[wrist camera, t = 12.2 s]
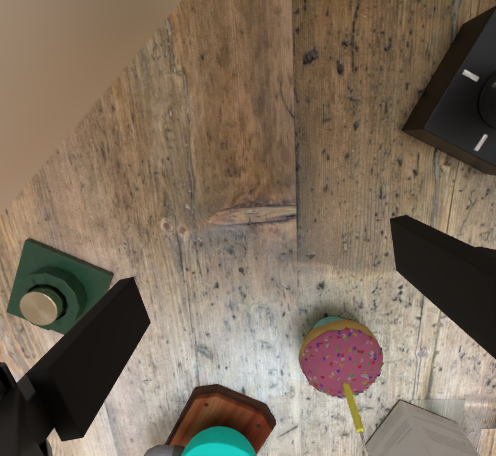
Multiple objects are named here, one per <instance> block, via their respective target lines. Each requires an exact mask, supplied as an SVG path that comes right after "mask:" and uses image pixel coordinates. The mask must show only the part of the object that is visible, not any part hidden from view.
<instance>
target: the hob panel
mask: <svg viewBox="0 0 496 456" xmlns="http://www.w3.org/2000/svg"><path fill="white" fill-rule="evenodd" d="M495 72H496V6H494V7H492V8H491V9H489V10H487V11H485V12H484V13H482V14H480V15H478V16H477V17H475V18H473V19H471V20H470V21H468V22H466V23H464V24H463V26H462V28H461V29H460V31H459V33H458V35H457V36H456V38H455V40H454V41H453V43H452V45H451V47H450V48H449V50H448V52H447V53H446V55H445V57H444V59H443V60H442V62H441V64H440V65H439V67H438V69H437V71H436V72H435V74H434V76H433V77H432V79H431V81H430V83H429V84H428V86H427V88H426V89H425V91H424V93H423V95H422V96H421V98H420V100H419V101H418V103H417V105H416V107H415V108H414V110H413V112H412V113H411V115H410V117H409V119H408V120H407V122H406V124H405V125H404V127H403V129H402V131H403V132H405V133H407V134H409V135H411V136H413V137H415V138H417V139H419V140H421V141H423V142H425V143H427V144H429V145H431V146H433V147H435V148H436V149H438V150H440V151H442V152H444V153H446V154H448V155H450V156H452V157H454V158H456V159H458V160H460V161H462V162H464V163H466V164H468V165H470V166H472V167H474V168H475V169H477V170H479V171H481V172H483V173H485V174H489V175H496V129H495V128H493V127H491V126H489V125H488V124H487V123H486V122H485V121H484V120H483V118H482V117H481V114H480V111H479V98H480V94H481V91H482V89H483V87H484V85H485V83H486V82H487V80H488V79H489V78H490V77H491V76H492V75H493V74H494V73H495Z"/></svg>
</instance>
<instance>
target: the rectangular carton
mask: <svg viewBox="0 0 496 456" xmlns="http://www.w3.org/2000/svg"><path fill="white" fill-rule="evenodd" d="M366 449H367V452H368V455H369V456H480V455H479V454H478V452H477V451H476V449H475V448H474V447H473V445H472V444H471V442H470V441H469V440H468V438H467V437H466V435H465V434H464V433H463V431H462V430H461V428H460V427H459V426H458V424H457V423H456V422H453V421H451V420H448V419H446V418H443V417H441V416H438V415H436V414H433V413H431V412H428V411H426V410H423V409H421V408H418V407H416V406H413V405H411V404H408V403H406V402H404V401H401V400H400V401H399V402H398V404H397V405H396V406H395V408H394V409H393V410H392V411H391V413H390V414H389V415H388V417H387V418H386V419H385V421H384V422H383V423H382V425H381V426H380V427H379V428H378V430H377V431H376V432H375V434H374V435H373V436H372V438H371V439H370V440H369V442H368V443H367V444H366Z"/></svg>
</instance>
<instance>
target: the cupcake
mask: <svg viewBox="0 0 496 456" xmlns="http://www.w3.org/2000/svg"><path fill="white" fill-rule="evenodd" d="M382 360H383V354H382V348H380V347H379V343H378V341H377V340H376V338H375V337H374V335H373V334H372V332H371V331H370V330H369V329H368V328H367V327H366V326H365V325H363V324H359V323H357V322H355V321H352V320H348V319H343V318H340V317H336V316H329V317H325V318H323V319H321V320H319V321H318V322H317V323H316V324H315V325H314V327H313V329H312V330H311V331H310V332H309V333H308V335H307V336H306V338H305V340H304V342H303V344H302V347H301V350H300V354H299V362H300V367H301V369H302V371H303V373H304V374H305V376H306V378H307V380H308V382H309V384H310V385H312V386H313V387H315V388H316V389H318V391H320V392H323V393H327V395H330V396H331V395H332V396H337V397H338V398H341V399H344V397H345V398H347V401H348V404H349V408H350V411H351V414H352V418H353V421H354V424H355V428H356V431H357V432H358V433H360V435H361V439H362V442H363V443H365V441H364V437H363V434H362V433H363V432H364V428H363V425H362V421H361V418H360V415H359V412H358V409H357V406H356V403H355V400H354V397H353V395H358V394H360V393H363V392H364V391H366V389H368V388H369V386H370V385H371V384H372V383H373V382H374V381H375V379H377V376H378V375H379V376H380V371H381V366H383V364H384V363H383V362H382ZM374 383H375V382H374ZM342 397H343V398H342Z"/></svg>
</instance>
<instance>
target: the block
mask: <svg viewBox="0 0 496 456" xmlns="http://www.w3.org/2000/svg"><path fill="white" fill-rule="evenodd" d="M112 277H113V273H111V272H108V271H106V270H103V269H101V268H99V267H96V266H94V265H92V264H89V263H87V262H84V261H82V260H80V259H77V258H75V257H73V256H70V255H68V254H65V253H63V252H61V251H58V250H56V249H54V248H51V247H49V246H46V245H44V244H42V243H39V242H37V241H35V240H32V239H27V240H25V243H24V247H23V251H22V255H21V258H20V262H19V266H18V270H17V274H16V277H15V281H14V285H13V289H12V293H11V296H10V300H9V304H8V308H7V312H8V313H10V314H13V315H15V316H18V317H20V318H23V319H26V318H25V317H24V316H23V314H22V313H21V310H20V301H21V299H22V297H23V296H24V295H25V294H27V293H28V292H30V291H31V290H33V289H34V288H36V287H38V286H40V285H50V286H54V287H56V288H57V289H59V290H60V291H61V292H62V293H63V295H64V296H65V298H66V302H67V306H66V309H65V311H64V312H63V313H62V314H61V315H60V316H59V317H58V318H57V319H56V320H54V321H53V322H52V323H50V324H48V325H36V324H34V323H32V324H33V325H36V326H39V327H41V328H44V329H46V330H53V331H56V332H58V333H61V334H63V335H65V334H66V333H67V332H68V331H69V330H70V329H71V328H72V327H73V326H74V325H75V324H76V323H77V322H78V321H79V320H80V319H81V318H82V317H83V316H84V315H85V314H86V313H87V312H88V311H89V310H90V309H91V308H92V307H93V306H94V305H95V304H96V303H97V302H98V301H99V300H100V299H101V298H102V297H103V296H104V295H105V294H106V293H107V290H108V288H109V285H110V282H111V280H112ZM26 320H27V319H26ZM29 322H30V321H29ZM30 323H31V322H30Z"/></svg>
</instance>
